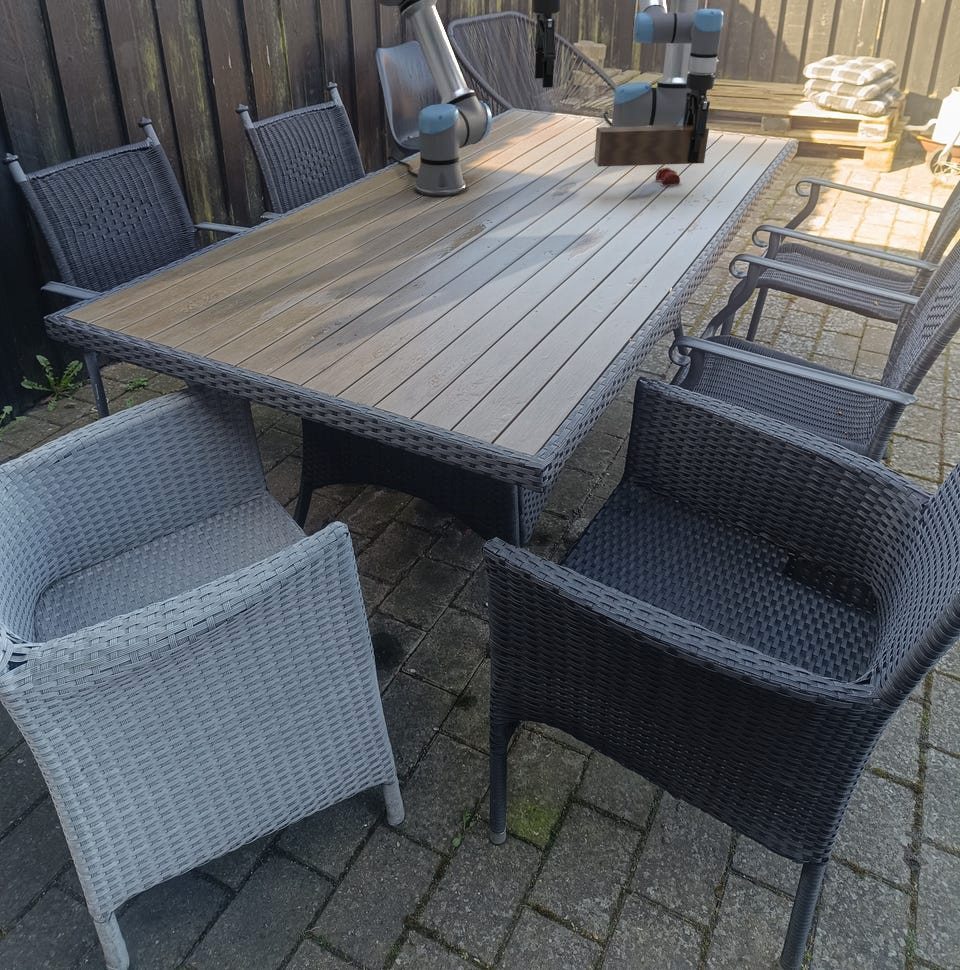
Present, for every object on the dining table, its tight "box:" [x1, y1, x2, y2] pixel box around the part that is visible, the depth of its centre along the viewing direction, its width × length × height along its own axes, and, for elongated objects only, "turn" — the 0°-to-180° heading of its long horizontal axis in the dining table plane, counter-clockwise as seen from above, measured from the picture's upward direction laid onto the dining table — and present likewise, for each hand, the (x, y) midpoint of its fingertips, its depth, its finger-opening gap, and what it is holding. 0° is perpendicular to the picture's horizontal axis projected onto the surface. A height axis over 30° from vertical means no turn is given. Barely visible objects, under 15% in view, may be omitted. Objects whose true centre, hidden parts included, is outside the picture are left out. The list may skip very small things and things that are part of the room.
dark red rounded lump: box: [655, 167, 681, 186], centre depth 263 cm, size 6×4×8 cm
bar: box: [593, 125, 710, 167], centre depth 244 cm, size 32×6×10 cm, turn 96°
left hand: (543, 82), depth 236 cm, fingers open, 13 cm apart
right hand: (689, 159), depth 248 cm, fingers closed on bar, 5 cm apart
